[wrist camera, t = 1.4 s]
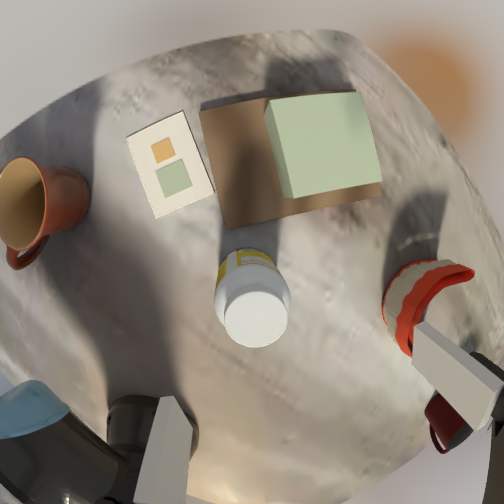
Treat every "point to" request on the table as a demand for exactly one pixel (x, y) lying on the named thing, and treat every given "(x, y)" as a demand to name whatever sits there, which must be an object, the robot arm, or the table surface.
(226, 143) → the plate
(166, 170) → the page
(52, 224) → the mug
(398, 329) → the denture model
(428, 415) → the mug
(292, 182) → the brick
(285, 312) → the pill bottle
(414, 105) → the table surface
